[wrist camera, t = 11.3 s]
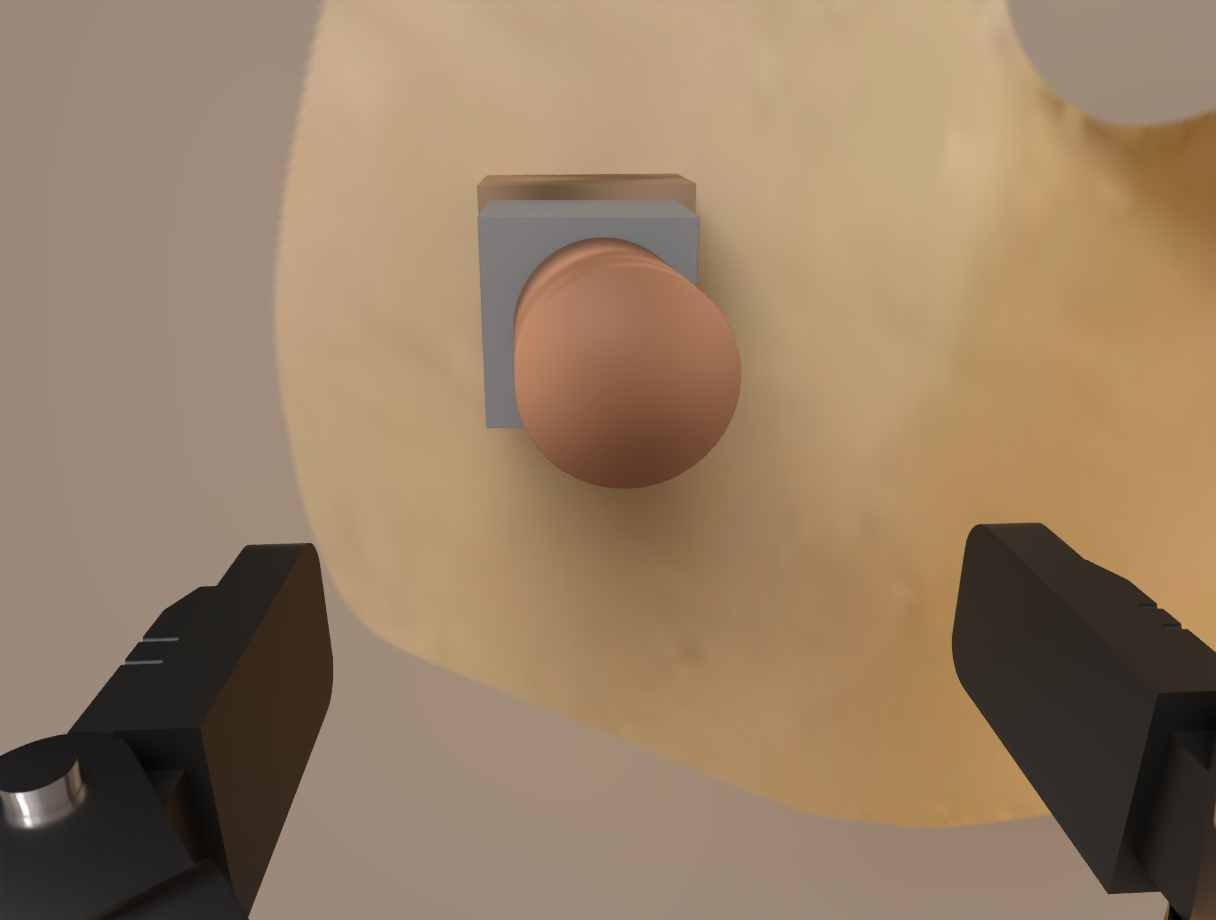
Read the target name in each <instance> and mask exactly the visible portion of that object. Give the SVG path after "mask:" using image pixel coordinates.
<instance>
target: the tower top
mask: <svg viewBox="0 0 1216 920" xmlns="http://www.w3.org/2000/svg"><path fill="white" fill-rule="evenodd" d="M600 237H606V238H617V239H622V240H627V241H630V242H633V243H636V244H638V245H640V246H642V247H644V248H646V249H648V250H650V251H651V252H653V253H654V254H656V255H657V256H658V257H660V258H661V259H662V260H663V261H664V262H666V263H667V264H668V265H669V266H671V267H672V268H673V269H674V270H676V271H677V272H678V273H679V274H681V275H682V276H683V277H684V278H686V279H687V280H688V281H689V282H691V283H692V284H693V285H694V286H696V285H697V261H698V238H699V217H698V216H697V215H696V214H694V213H693V212H691V211H690V210H689V209H687V208H686V207H684V206H683V205H682V204H680V203H679V202H677V201H676V200H489V201H488V203H487V204H486V205H485V207H484V208H483V210H482V211H481V213H480V214H479V215H478V239H479V263H480V287H481V310H482V334H483V358H484V382H485V406H486V428H525V426H524V423H523V421H522V419H521V416H520V413H519V409H518V405H517V401H516V393H515V375H514V334H513V328H514V314H515V308H516V304H517V301H518V298H519V295H520V293H521V290H522V288H523V286H524V284H525V283H526V281H527V279H528V278H529V276H530V275H531V273H532V272H533V271H534V270H535V269H536V267H537V266H538V265H539V264H540V263H541V262H542V261H543V260H545V259H546V258H547V257H548V256H550V255H551V254H552V253H554V252H555V251H557V250H559V249H560V248H562V247H564V246H566V245H569V244H571V243H574V242H577V241H580V240H585V239H589V238H600Z"/></svg>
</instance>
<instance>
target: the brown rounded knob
mask: <svg viewBox="0 0 1216 920" xmlns="http://www.w3.org/2000/svg"><path fill="white" fill-rule="evenodd" d="M513 334H514V375H515V393H516V401H517V405H518V409H519V413H520V416H521V419H522V421H523V423H524V426H525V428H526V430H527V432H528V434H529V435H530V437H531V439H532V440H533V442H534V443H535V444H536V446H537V447H538V448H539V450H540V451H541V452H542V453H543V454H544V455H545V456H546V457H547V458H548V459H549V460H550V461H551V462H552V463H554V464H555V465H556V466H557V467H559V468H560V469H561V470H563V471H565V472H566V473H568V474H570V475H572V476H573V477H575V478H578V479H580V480H583V481H585V482H588V483H591V484H595V485H599V486H603V487H610V488H637V487H645V486H649V485H654V484H658V483H660V482H663V481H666V480H669V479H671V478H673V477H675V476H677V475H679V474H681V473H683V472H685V471H686V470H688V469H689V468H691V467H692V466H694V465H695V464H696V463H697V462H699V461H700V460H701V459H702V458H703V457H704V456H706V455H707V454H708V452H709V451H710V450H711V449H712V448H713V447H714V446H715V445H716V443H717V442H718V441H719V439H720V438H721V436H722V435H723V434H724V432H725V430H726V428H727V426H728V424H729V423H730V421H731V418H732V416H733V413H734V411H735V408H736V405H737V400H738V396H739V391H740V382H741V364H740V358H739V351H738V347H737V344H736V341H735V337H734V335H733V333H732V330H731V328H730V326H729V324H728V322H727V320H726V319H725V317H724V316H723V314H722V313H721V311H720V310H719V309H718V307H717V306H716V305H715V304H714V303H713V302H712V300H711V299H710V298H708V297H707V296H706V295H705V294H704V293H703V292H702V291H701V290H699V289H698V288H697V287H696V286H694V285H693V284H692V283H691V282H689V281H688V280H687V279H686V278H684V277H683V276H682V275H681V274H679V273H678V272H677V271H676V270H674V269H673V268H672V267H671V266H669V265H668V264H667V263H666V262H664V261H663V260H662V259H661V258H660V257H658V256H657V255H656V254H654V253H653V252H651V251H650V250H648V249H646V248H644V247H642V246H640V245H638V244H636V243H633V242H630V241H627V240H622V239H617V238H606V237H600V238H589V239H585V240H580V241H577V242H574V243H571V244H569V245H566V246H564V247H562V248H560V249H559V250H557V251H555V252H554V253H552V254H551V255H550V256H548V257H547V258H546V259H545V260H543V261H542V262H541V263H540V264H539V265H538V266H537V267H536V269H535V270H534V271H533V272H532V273H531V275H530V276H529V278H528V279H527V281H526V283H525V284H524V286H523V288H522V290H521V293H520V295H519V298H518V301H517V304H516V308H515V314H514V328H513Z"/></svg>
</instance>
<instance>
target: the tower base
mask: <svg viewBox="0 0 1216 920" xmlns="http://www.w3.org/2000/svg"><path fill="white" fill-rule="evenodd" d="M477 192H478V210H479V214H480V213H481V211H482V210H483V208H484V207H485V205H486V204H487V203H488V201H489V200H676V201H677V202H679V203H680V204H682V205H683V206H684V207H686V208H687V209H689V210H690V211H691V212H693V213H694V214H695V200H696V183H694V182H692V181H690V180H688V179H686V178H684V177H682V176H680V175H678V174H595V175H487V176H486V177H485V178H484V179H483V180H482V181H481V182H480V183H479V184H478V185H477Z"/></svg>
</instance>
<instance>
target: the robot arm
mask: <svg viewBox="0 0 1216 920" xmlns="http://www.w3.org/2000/svg"><path fill="white" fill-rule="evenodd" d="M952 653H953V660H954V665H955V669H956V673H957V675H958V678H959V680H960V682H961V684H962V686H963V688H964V689H965V691H966V692H967V693H968V695H969V696H970V698H971V699H972V700H973V702H974V703H975V705H976V706H977V708H978V709H979V710H980V712H981V713H982V715H983V716H984V718H985V719H986V720H987V722H988V723H989V725H990V726H991V728H992V729H993V730H994V732H995V733H996V735H997V736H998V738H999V739H1000V740H1001V742H1002V743H1003V745H1004V746H1005V748H1006V749H1007V750H1008V752H1009V753H1010V755H1011V756H1012V758H1013V759H1014V760H1015V762H1016V763H1017V765H1018V766H1019V768H1020V769H1021V770H1022V772H1023V773H1024V775H1025V776H1026V777H1027V779H1028V780H1029V782H1030V783H1031V785H1032V786H1033V787H1034V789H1035V790H1036V792H1037V793H1038V795H1039V796H1040V797H1041V799H1042V800H1043V802H1044V803H1045V805H1046V806H1047V807H1048V809H1049V810H1050V812H1051V813H1052V815H1053V816H1054V817H1055V819H1056V820H1057V822H1058V823H1059V824H1060V826H1061V827H1062V829H1063V830H1064V832H1065V833H1066V835H1067V836H1068V837H1069V839H1070V840H1071V842H1072V843H1073V845H1074V846H1075V847H1076V849H1077V850H1078V852H1079V853H1080V854H1081V856H1082V857H1083V859H1084V860H1085V861H1086V863H1087V864H1088V866H1089V867H1090V869H1091V870H1092V871H1093V873H1094V874H1095V876H1096V877H1097V879H1098V880H1099V882H1100V883H1101V884H1102V886H1103V887H1104V889H1105V890H1106V891H1107V893H1108V894H1120V893H1140V892H1161V893H1162V894H1163V895H1164V896H1165V898H1166V899H1167V900H1168V902H1169V903H1168V907H1167V910H1166V914H1165V917H1164V920H1216V652H1215V651H1213V650H1212V649H1211V648H1210V647H1209V646H1207V645H1206V644H1205V643H1204V642H1203V641H1201V640H1200V639H1199V638H1198V637H1196V636H1195V635H1194V634H1193V633H1192V632H1190V631H1189V630H1188V629H1182V628H1181V623H1180V622H1178V621H1177V620H1176V619H1175V618H1173V617H1172V616H1171V615H1170V614H1169V613H1167V612H1166V611H1165V610H1164V609H1158V608H1157V603H1155V602H1154V601H1153V600H1152V599H1150V598H1149V597H1148V596H1147V595H1146V594H1144V593H1143V592H1142V591H1141V590H1140V589H1138V588H1137V587H1136V586H1135V585H1134V584H1132V583H1131V582H1130V581H1129V580H1127V579H1125V578H1123V577H1121V576H1119V575H1117V574H1115V573H1113V572H1111V571H1108V570H1106V569H1104V568H1102V567H1100V566H1098V565H1096V564H1094V563H1092V562H1090V561H1088V560H1085V559H1083V558H1082V557H1081V556H1080V555H1079V554H1078V553H1076V552H1075V551H1074V550H1073V549H1072V548H1071V547H1069V546H1068V545H1067V544H1066V543H1065V542H1064V541H1062V540H1061V539H1060V538H1059V537H1058V536H1057V535H1055V534H1054V533H1053V532H1052V531H1051V530H1050V529H1048V528H1047V527H1046V526H1045V525H1043V524H1041V523H1007V524H978V525H976V526H975V527H973V528H972V530H971V531H970V533H969V535H968V538H967V541H966V546H965V552H964V559H963V566H962V572H961V579H960V586H959V593H958V599H957V606H956V613H955V620H954V627H953V634H952ZM332 685H333V656H332V649H331V642H330V634H329V627H328V619H327V612H326V604H325V597H324V590H323V584H322V576H321V568H320V562H319V557H318V553H317V551H316V548H315V547H314V545H313V544H311V543H298V544H297V543H296V544H263V545H247V546H245V547H244V548H243V550H242V551H241V553H240V554H239V555H238V557H237V558H236V559H235V561H234V562H233V564H232V565H231V566H230V568H229V569H228V571H227V572H226V573H225V575H224V576H223V578H222V579H221V580H220V582H219V583H218V585H217V586H209V587H208V586H205V587H199V588H197V589H196V590H194V591H193V592H191V593H189V594H188V595H186V596H185V597H184V598H182V599H180V600H179V601H177V602H176V603H174V604H173V605H171V606H169V607H168V608H166V609H165V610H164V611H163V612H162V613H161V615H160V616H159V617H158V618H157V620H156V621H155V622H154V624H153V625H152V626H151V627H150V628H149V630H148V631H147V632H146V634H145V635H144V636H143V642H139V643H138V644H137V645H136V647H135V648H134V649H133V650H132V652H131V653H130V654H129V655H128V657H127V658H126V659H125V665H121V666H120V667H119V668H118V669H117V670H116V672H115V673H114V674H113V676H112V677H111V678H110V679H109V681H108V682H107V683H106V684H105V686H104V687H103V688H102V690H101V691H100V692H99V693H98V695H97V696H96V697H95V698H94V700H93V701H92V702H91V704H90V705H89V706H88V707H87V709H86V710H85V711H84V713H83V714H82V715H81V716H80V718H79V719H78V720H77V721H76V723H75V724H74V725H73V726H72V728H71V729H70V730H69V732H68V733H67V734H62V735H56V736H52V737H48V738H44V739H40V740H37V741H34V742H31V743H29V744H25V745H23V746H20V747H18V748H16V749H13V750H11V751H9V752H7V753H5V754H3V755H1V756H0V920H249V918H248V916H249V914H250V911H251V908H252V906H253V903H254V901H255V898H256V896H257V893H258V890H259V887H260V885H261V882H262V880H263V877H264V875H265V872H266V869H267V867H268V864H269V862H270V859H271V856H272V854H273V851H274V848H275V846H276V843H277V841H278V838H279V835H280V833H281V830H282V828H283V825H284V822H285V820H286V817H287V815H288V812H289V809H290V807H291V804H292V801H293V799H294V796H295V794H296V791H297V788H298V786H299V783H300V781H301V778H302V775H303V773H304V770H305V768H306V765H307V762H308V760H309V757H310V755H311V752H312V749H313V747H314V744H315V742H316V739H317V736H318V734H319V731H320V729H321V726H322V723H323V721H324V718H325V715H326V713H327V710H328V707H329V704H330V699H331V693H332Z"/></svg>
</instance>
